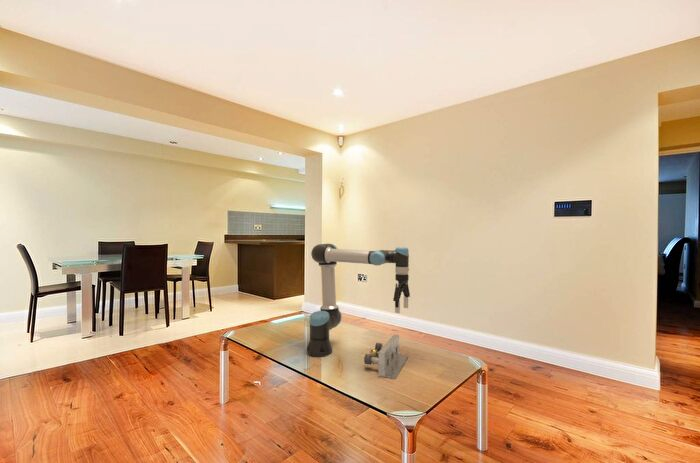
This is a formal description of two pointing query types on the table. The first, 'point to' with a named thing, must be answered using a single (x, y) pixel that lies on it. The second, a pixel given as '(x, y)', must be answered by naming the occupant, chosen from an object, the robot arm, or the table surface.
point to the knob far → (378, 346)
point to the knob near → (370, 359)
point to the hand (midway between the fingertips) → (401, 310)
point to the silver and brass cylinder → (374, 353)
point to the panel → (391, 358)
